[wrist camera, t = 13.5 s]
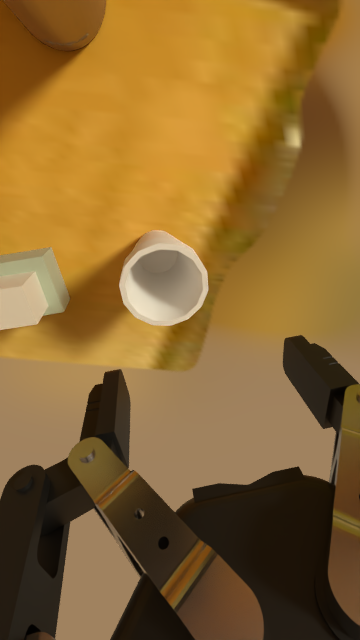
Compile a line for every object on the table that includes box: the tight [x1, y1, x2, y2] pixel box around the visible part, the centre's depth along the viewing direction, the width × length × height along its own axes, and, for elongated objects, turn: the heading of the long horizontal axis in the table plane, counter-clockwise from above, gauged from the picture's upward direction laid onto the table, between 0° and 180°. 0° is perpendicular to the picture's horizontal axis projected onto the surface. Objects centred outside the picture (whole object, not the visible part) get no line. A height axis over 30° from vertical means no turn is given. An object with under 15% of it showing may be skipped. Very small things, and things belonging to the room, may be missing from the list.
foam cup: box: [119, 230, 208, 326], centre depth 36 cm, size 10×9×13 cm
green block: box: [0, 247, 70, 316], centre depth 39 cm, size 8×8×4 cm
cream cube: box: [0, 271, 48, 330], centre depth 35 cm, size 5×5×5 cm
